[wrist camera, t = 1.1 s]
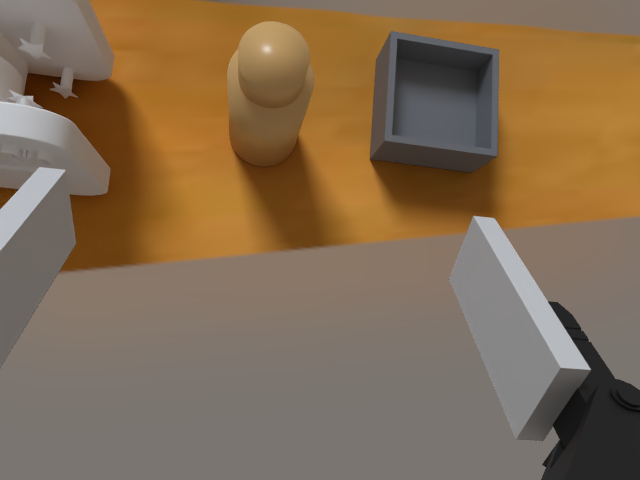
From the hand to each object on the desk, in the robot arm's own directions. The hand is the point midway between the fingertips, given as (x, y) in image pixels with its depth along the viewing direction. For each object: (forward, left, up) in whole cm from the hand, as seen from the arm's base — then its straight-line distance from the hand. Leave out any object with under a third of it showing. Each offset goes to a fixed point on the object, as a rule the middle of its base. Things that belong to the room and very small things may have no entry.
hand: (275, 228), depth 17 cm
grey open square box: (+12, +14, -20) cm, 27 cm away
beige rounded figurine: (-1, +11, -20) cm, 23 cm away
